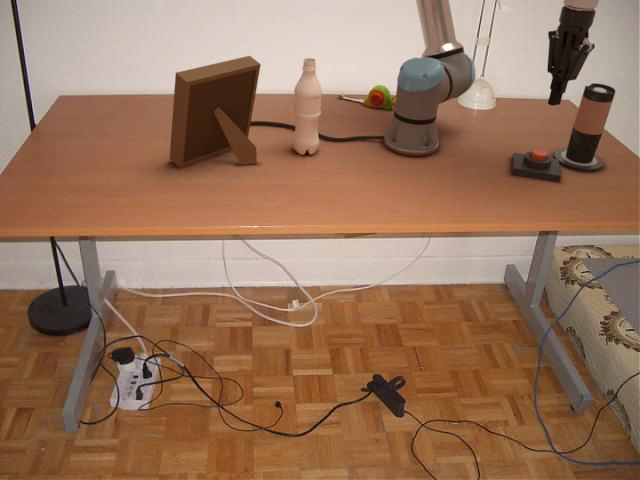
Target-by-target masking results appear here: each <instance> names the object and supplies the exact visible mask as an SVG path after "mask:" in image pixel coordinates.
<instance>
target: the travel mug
mask: <svg viewBox="0 0 640 480" xmlns="http://www.w3.org/2000/svg"><path fill="white" fill-rule="evenodd" d="M583 89H584V90H583V93H582V95H581V99H580V102H579V105H578V109H577V112H576V115H575V119H574V123H573V125H572V129H571V133H570V137H569V141H568V144H567V147H566V148H567V152H566V157H567V158H568V159H569V160H571V161H574V162H577V163H584V164H586V163H590V162H592V160H593V158H594V155H596V153H597V150H598V147H599V144H600V141H601V138H602V135H603V133H604V130H605V126H606V123H607V120H608V117H609V115H610V111H611V108H612V104H613V101H614V98H615V95H616V89H615V88H614V87H612V86H609V85H607V84H603V83H598V82H597V83H591V84H590V85H585V86H584V88H583Z"/></svg>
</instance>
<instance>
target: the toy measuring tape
mask: <svg viewBox="0 0 640 480" xmlns="http://www.w3.org/2000/svg"><path fill="white" fill-rule="evenodd" d="M338 98H339V99H340V100H341V99H344V100H349V101H353V102H359V103H361V104H362V105H363V106H366V107H371V108H375V109H382V110H386V111H390V110H391V109H392V108H393V107H395V100H396V95H393V96H392V97H391V91H390V90H389V88H388V87H386V86H385V85H382V84H378V85H377V84H376V85H375V86H374V87H372V88H371V89H370V91H368V95H367V97H366V98H365V99H364V98H362V99H361V98H352V97H347V96H346V94H345V93H344V92H341V93H340V94H339V95H338Z"/></svg>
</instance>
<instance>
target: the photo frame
mask: <svg viewBox="0 0 640 480" xmlns="http://www.w3.org/2000/svg"><path fill="white" fill-rule="evenodd" d="M260 70H261V63H260V62H259V61H258V60H256V59H255V58H254V57H252V56H251V55H247V56H242V57H238V58H234V59H229V60H225V61H221V62H220V61H219V62H216V63H211V64H208V65H203V66H199V67H193V68H191V69H185V70H182V71H181V70H180V71H177V72H175V77H174V78H175V79H174V89H173V90H174V91H173V103H172V104H173V106H172V118H171V132H170V147H169V160H171V162H172V163H174V164H175V166H177V167H178V168H179V169H180V168H183V167H187V166H190V165H192V164H195V163H198V162H201V161H204V160H207V159H211V158H213V157H216V156H220V155H223V154H225V153H228V152H231V151H233V154H234V155H235V158H236V160H237V162H238V164H239V165H240V166H241V165H242V166H243V165H256V164H258V158H257V154H258V153H257V146H256V145H255V144H254V143H253V142H252V141H251V140H250V138H249V136H250V135H249V134H250V130H251V129H250V128H251V125H250V124H251V121H252V117H253V112H254V106H255V100H256V95H257V88H258V83H259V76H260Z"/></svg>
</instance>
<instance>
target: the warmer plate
mask: <svg viewBox="0 0 640 480" xmlns="http://www.w3.org/2000/svg"><path fill="white" fill-rule="evenodd" d="M567 148H568V147H563V148H559V149H557V150H556V151H555V152H554V154H553V159H558V160H559V166H560V167H563V168H565V169H568V170H571V171H575V172H580V173H595V172H599V171H601V170H602V169H603V166H604V161H603V159H602V158H601V157H600V156H598V155H597V154H595V155H594V158H593V160H592V162H590V163H586V164H584V163H577V162H574V161H571V160H569V159H568V158H567V157H566V152H567Z"/></svg>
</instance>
